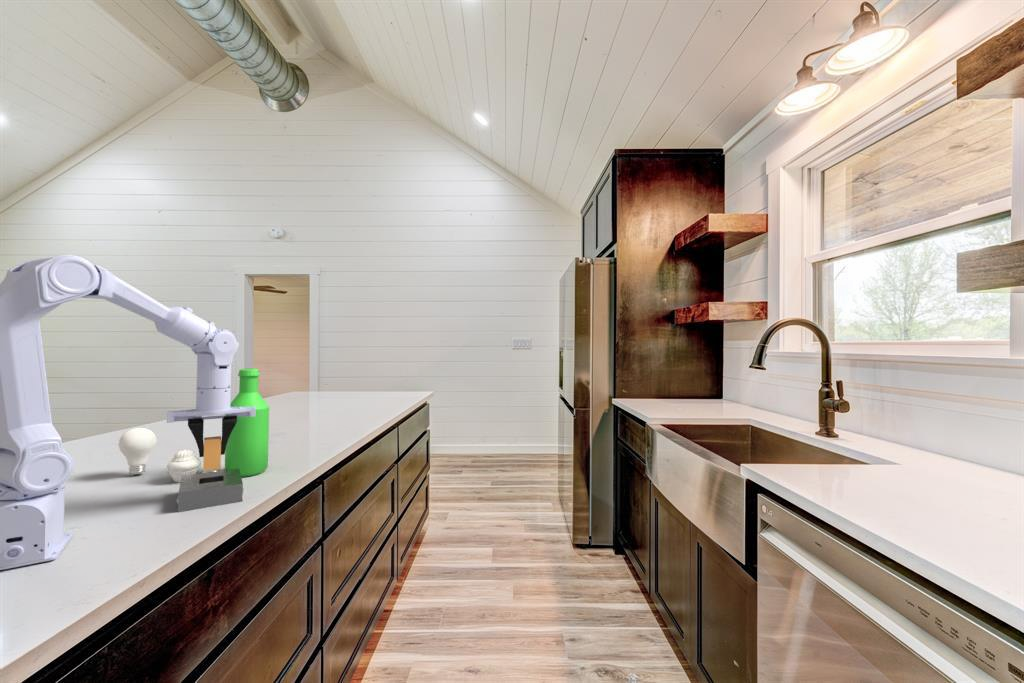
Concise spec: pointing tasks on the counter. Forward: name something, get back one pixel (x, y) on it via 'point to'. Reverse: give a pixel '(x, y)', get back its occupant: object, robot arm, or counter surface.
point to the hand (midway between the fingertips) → (212, 454)
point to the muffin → (183, 465)
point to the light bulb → (137, 448)
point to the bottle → (249, 429)
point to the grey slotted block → (210, 489)
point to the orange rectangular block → (212, 453)
